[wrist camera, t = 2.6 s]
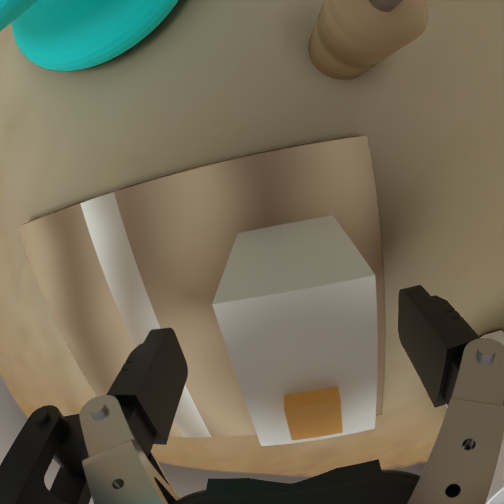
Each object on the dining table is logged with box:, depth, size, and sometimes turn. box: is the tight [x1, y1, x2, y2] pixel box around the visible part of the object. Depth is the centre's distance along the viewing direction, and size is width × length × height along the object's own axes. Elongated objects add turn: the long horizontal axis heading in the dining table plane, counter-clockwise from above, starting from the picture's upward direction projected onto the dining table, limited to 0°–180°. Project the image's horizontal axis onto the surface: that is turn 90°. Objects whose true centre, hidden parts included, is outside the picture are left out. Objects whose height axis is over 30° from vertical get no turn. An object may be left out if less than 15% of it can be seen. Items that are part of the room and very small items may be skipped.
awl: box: [308, 0, 428, 80], centre depth 7 cm, size 3×3×9 cm
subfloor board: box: [18, 136, 385, 437], centre depth 16 cm, size 18×16×1 cm
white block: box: [212, 215, 378, 446], centre depth 11 cm, size 4×6×7 cm, turn 13°
